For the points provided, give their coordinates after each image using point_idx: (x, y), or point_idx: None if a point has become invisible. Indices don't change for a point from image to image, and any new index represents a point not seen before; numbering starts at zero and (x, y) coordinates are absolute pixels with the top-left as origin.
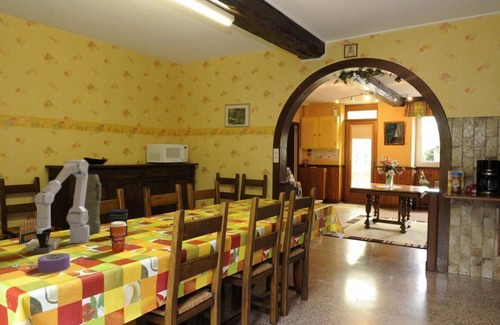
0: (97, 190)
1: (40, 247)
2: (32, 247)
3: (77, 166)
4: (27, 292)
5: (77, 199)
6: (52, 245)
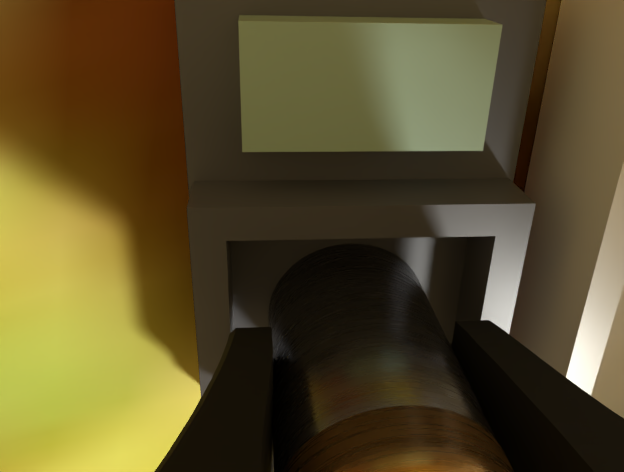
0: None
1: (298, 296)
2: (433, 58)
3: None
4: None
5: None
6: None
